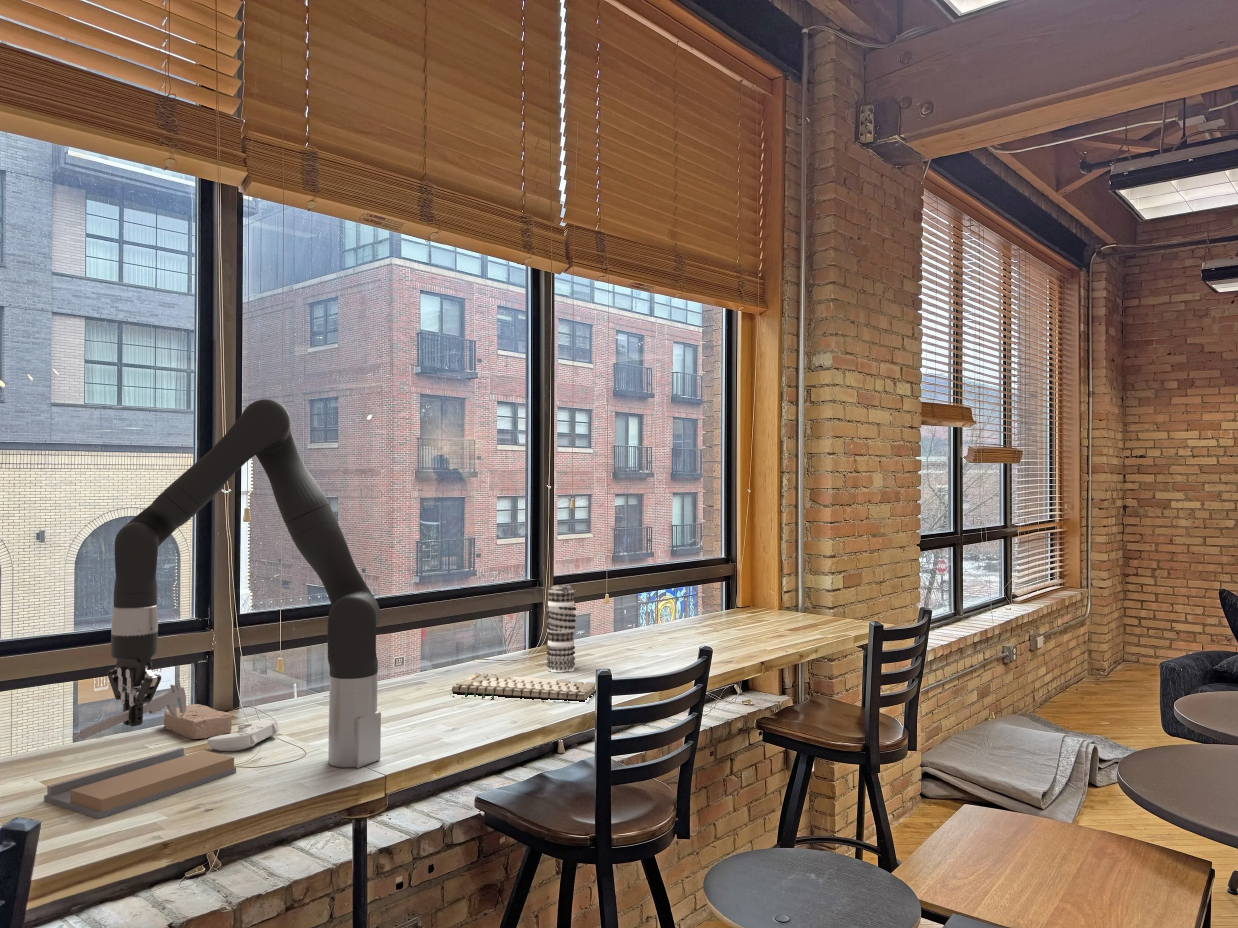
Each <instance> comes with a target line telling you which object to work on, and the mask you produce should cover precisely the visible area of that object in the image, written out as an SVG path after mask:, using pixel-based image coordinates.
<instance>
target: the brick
mask: <svg viewBox="0 0 1238 928" xmlns="http://www.w3.org/2000/svg"><path fill="white" fill-rule="evenodd" d="M176 710H177V712H176V713H177V716H173V715H171V714H170V712H169V710H168V709H166V710H164V713H163V716H164V718H163V724H164V725H163V728H164V727H166V728H167V729H169V730H168V731H171V730H172V732H173V733H176V734H178V735H180V734H181V735H180V736H183V737H185V736H186V737H185V738H187V737H188V739H190V738H191V740H199V739H200V740H201V739H207V738H208V739H209V738H211V737H215V736H219V735H224V734H231V733H232V726H233V725H232V724H233V723H232V719H233V717H232V714H231V713H229V712H226V711H221V710H217V709H214V708H212V707H209V706H208V705H202V704H199V703H197V704H196V703H195V704H188V705H187V704H186V711H185V713H180V709H179V706H178V707H176ZM166 728H165V729H166ZM167 729H166V730H167Z"/></svg>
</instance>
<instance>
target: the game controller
mask: <svg viewBox="0 0 1238 928" xmlns="http://www.w3.org/2000/svg"><path fill="white" fill-rule="evenodd" d="M277 723H278V722H277V721H275V720H256V721H254V720H253V721H249V722H248V721H247V722H245V723H241V724H239V725H237V732H231V733H226V734H221V735H219V736H212V737H208V739H207V746H208V747H209V748H211V749H212V750H215V751H219V752H238V751H243V750H246V749H249V748H251V747H254V746H255V745H256V744H257V743H259V742H261V741H264V740H265V739H267V738H270V737H274V736H276V735H277V733H278V732H279V731H281V730H280V728H279V726H278V724H277Z"/></svg>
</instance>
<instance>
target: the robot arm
mask: <svg viewBox="0 0 1238 928" xmlns="http://www.w3.org/2000/svg"><path fill="white" fill-rule="evenodd" d="M291 423H292V422H291V417H290V414H289V412H288V410H287V408H286V407H285V406H284V405H283V404H282V403H280V402H278V401H276V400H273V399H268V398H267V399H266V398H263V399H259V400H256V401H253V402H251V403H250V404H249V405H247V406H246V407H245V409H244V410H243V412H242V413H241V414H240V416H238V418H237V420H236V421H235V422H234V424H233V425H232V426H231V427H230V428H229V429H228V430H227V432H226V433H225V434H224V435H223V437H221V438H220V439H219V440H218V442H217V443H216V444H215V445H214V446H212V448H210V450H208V451H207V453H206V454H204V455H203V456H202V457H201V458H200V459H198V461H196V462H195V463H194V464H193V465H191V467H189V468H188V469H187V470H186V471H185V472H184V473H182V474H181V475H180V476H179V477H177V478H176V479H175V480H174V481H173V482H172V483H171V484H169V486H168V487H166V488H165V489H164V490H163V491H162V492H161V493H160V494H159V495H158V496H157V497H156V498H155V499H153V501H152V503H151V504H150V505H148V506H147V507H146V508H145V509H143V510H142V511H141V512H140V513H138V514H137V515H136V516H134V517H133V518H132V519H131V520H130V521H129V522H127V523H126V524H125V525H124V526H122V527H121V529H119V531H118V532H117V534H116V536H115V539H114V568H115V580H114V586H113V587H114V588H113V608H112V616H111V630H110V631H111V637H110V638H111V639H110V656H111V658H112V659H115V660H116V662H115V667H114V668H113V669H108V670H107V672H106V675H107V678H108V680H109V683H110V686H111V689H112V690H111V691H112V692H113V696H114V699H115V700H116V701H118V700H119V701H120V703H121V705H123V711H122V713H123V712H125V711H127V710H129V720H127V721H125V722H123V725H125V726H129V727H133V728H134V727H137V726H141V725H142V724H143V720H144V714H143V705H144V704H145V703H147V702H149V701H151V700H152V698H153V697H155V693H156V691H157V689H158V687H159V684H161V683H160V682H161V680H162V675H160V674H155V673H154V672H153V664H152V663H153V662H152V658H153V657H154V656H155V655H156V654H157V653H158V649H159V648H158V646H159V645H158V644H159V642H158V640H159V639H158V638H159V613H158V583H157V580H158V579H157V566H158V553H159V547H160V546H161V545H162V544H163V543H164V542H165V541H166V540H167V539H168V538H169V537H170V536H171V535H172V534H173V533H174V532H175V531H176V530H177V529H178V528H180V527H182V526H183V525H185V524H186V523H188V521H190V520H191V519H192V518H193V517H195V515H197V514H198V512H199V511H200V510H202V509H203V508H204V507H205V506H206V505H207V504H208V503H210V501H211V500H212V499H213V498H214V497H215V496H216V495H217V494H218V493H219V492H220V490H221V489H223V487H224V486H225V484H226V483H227V482H228V481H229V480H230V479H231V478H232V477H233V475H235V473H237V471H238V470H240V469H241V468H242V467H243V466H244V465H245V464H246V463H247V462H249V461H250V460H251V459H252V458H253V457H255V456H256V458H257V460H258V462H259V463H260V465H261V467H262V468H263V470H264V472H265V474H266V476H267V479H268V480H269V484H270V486H271V489H272V493H273V495H274V500H275V501H276V504H277V507H278V510H279V513H280V514H281V518H282V520H283V523H284V524H285V526H286V528H287V530H288V534H289V535H290V537H291V539H292V541H293V543H294V545H295V547H296V548H297V549H298V552H299V553H300V554H301V556H302V557H303V558H304V560H305V561H306V562H307V563H308V564H309V566H310V568H312V569H313V571H314V572H315V574H316V575H317V577H319V579H320V581H321V584H322V585H323V587H324V589H325V592H326V594H327V597H328V599H329V602H330V605H331V607H330V610H329V612H328V616H327V617H328V619H327V661H328V666H329V667H328V668H329V684H328V686H329V690H328V691H329V692H328V693H329V695H328V698H329V701H328V751H327V752H328V755H327V757H328V760H327V762H328V764H329V765H330V766H333V767H336V768H357V769H359V768H361V767H365V766H367V765H369V764H372V763H375V762H376V761H380V760H381V750H382V749H381V747H382V746H381V743H382V742H381V741H382V740H381V737H382V736H381V735H382V733H381V732H382V731H381V730H382V713H381V712H380V711H378V685H379V683H378V681H379V680H378V678H379V677H378V675H379V674H378V672H379V671H378V670H379V662H378V661H379V660H378V657H377V626H378V624H379V622H380V618H381V609H380V606H379V603H378V601H377V599H376V598H375V595H374V594H373V593H372V592H371V591H372V590H370V588H369V587H368V585H367V583H366V582H365V580H364V578H363V577H362V575H361V573H360V571H359V570H358V567H357V566H356V564H355V562H354V560H353V556H352V554H351V551H350V547H349V546H348V543H347V540H346V538H345V536H344V533H343V531H342V529H341V527H340V524H339V521H338V519H337V516H336V515H335V513H334V510H333V509H332V507H331V504H330V502H329V501H328V498H327V497H326V495H325V493H324V492H323V490H322V488H321V487H320V486H319V484H318V483H317V481H316V480H315V478H314V477H313V476H312V474H311V472H310V471H309V470H308V468H307V467H306V465H305V463H304V461H303V460H302V457H301V455H300V452H299V449H298V447H297V444H296V442H295V438H294V436H293V433H292V428H291Z"/></svg>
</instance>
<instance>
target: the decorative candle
mask: <svg viewBox="0 0 1238 928" xmlns="http://www.w3.org/2000/svg"><path fill="white" fill-rule="evenodd" d="M547 592H548V601H547V607H546V608H545V612H546V613H545V616H546V617H547V620H546V621H545V623H546V624H547V625H546V627H545V628H546V631H547V632H548V634H547V636H548V640H547V646H546V650H547V651H546V655H548V656H547V657H546V658H545V660H546V664H545V665H546V668H547V667H548V668H549V669H551V670H556V671H569V670H572V669H573V668H575V667H574V666H576V662H575V661H576V657H575V656H574V655H575V654H576V652H575V651H576V650H575V649H576V646H575V639H574V632H575V631H576V626H575V625H574V623H576V621H577V619H575V617H576V616H577V614H576V613H574V612H575V611H576V610H577V607H575V606H576V605H577V604H576V603H575V599H574V597H575V596H574V594H575V590H573V588H572V586H571V585H567V584H556V585H555V584H554V585H552V586H551V587H550V589H549V590H547Z"/></svg>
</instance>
